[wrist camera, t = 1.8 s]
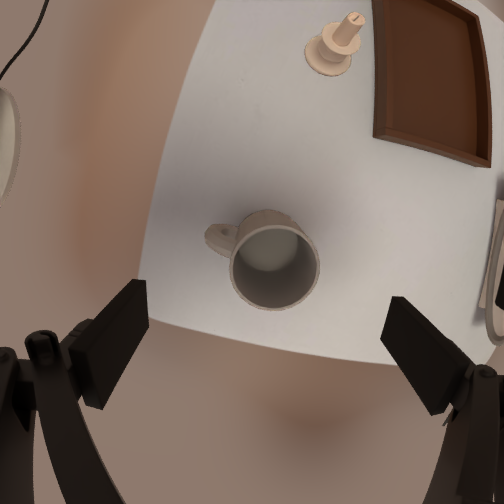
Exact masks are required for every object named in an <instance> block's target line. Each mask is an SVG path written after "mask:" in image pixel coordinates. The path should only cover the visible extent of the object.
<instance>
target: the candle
mask: <svg viewBox="0 0 504 504" xmlns="http://www.w3.org/2000/svg"><path fill="white" fill-rule="evenodd" d="M364 23H365V18H364V17H363V16H362V15H361V14H359V13H356V12H352V13H350V14H349V15H348V16H347V17H346V18H345V19H344V20H343V21H342V23H341V22H332V23H329V24H327V25H326V26H325V27H324V28H323V30H322V36H317V37H314V38H313V39H311V40H310V41H309V42H308V43H307V45H306V48H305V57H306V60H307V62H308V64H309V65H310V66H311V67H312V68H313V69H314V70H315V71H317V72H318V73H320V74H323V75H326V76H338V75H341V74H343V73H344V72H345V71H346V70H347V69H348V68H349V66H350V63H351V54H354V53H355V52H357V51H358V49H359V48H360V45H361V41H360V37H359V35H358V34H357V32H358V31H359V29H360V28H361V27H362V25H363V24H364Z"/></svg>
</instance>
